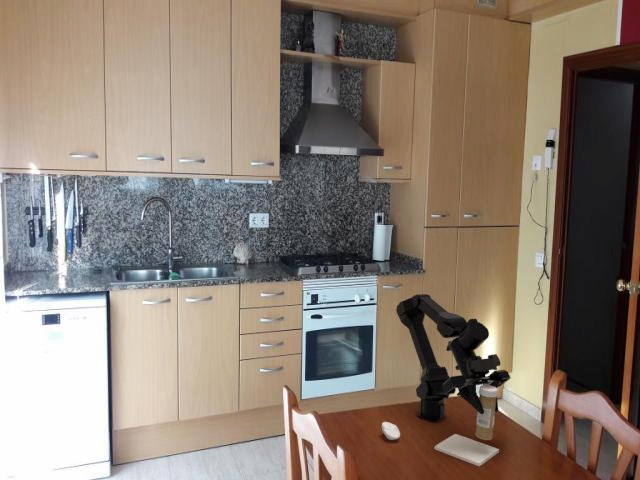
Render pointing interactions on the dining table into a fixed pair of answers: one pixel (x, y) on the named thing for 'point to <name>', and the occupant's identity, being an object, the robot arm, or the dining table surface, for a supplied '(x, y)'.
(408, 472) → the dining table surface
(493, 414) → the sprinkles bottle
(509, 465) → the dining table surface
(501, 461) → the dining table surface
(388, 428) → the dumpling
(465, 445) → the ceramic tile
